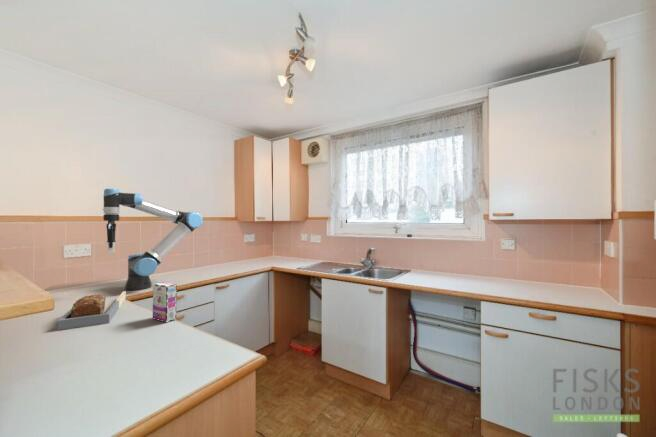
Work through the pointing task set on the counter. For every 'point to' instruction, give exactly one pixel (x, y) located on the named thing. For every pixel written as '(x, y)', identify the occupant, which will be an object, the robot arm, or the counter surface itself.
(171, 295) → the candy bar box
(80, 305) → the bread
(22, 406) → the counter surface
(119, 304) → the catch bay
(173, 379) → the counter surface
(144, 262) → the robot arm
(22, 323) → the counter surface
